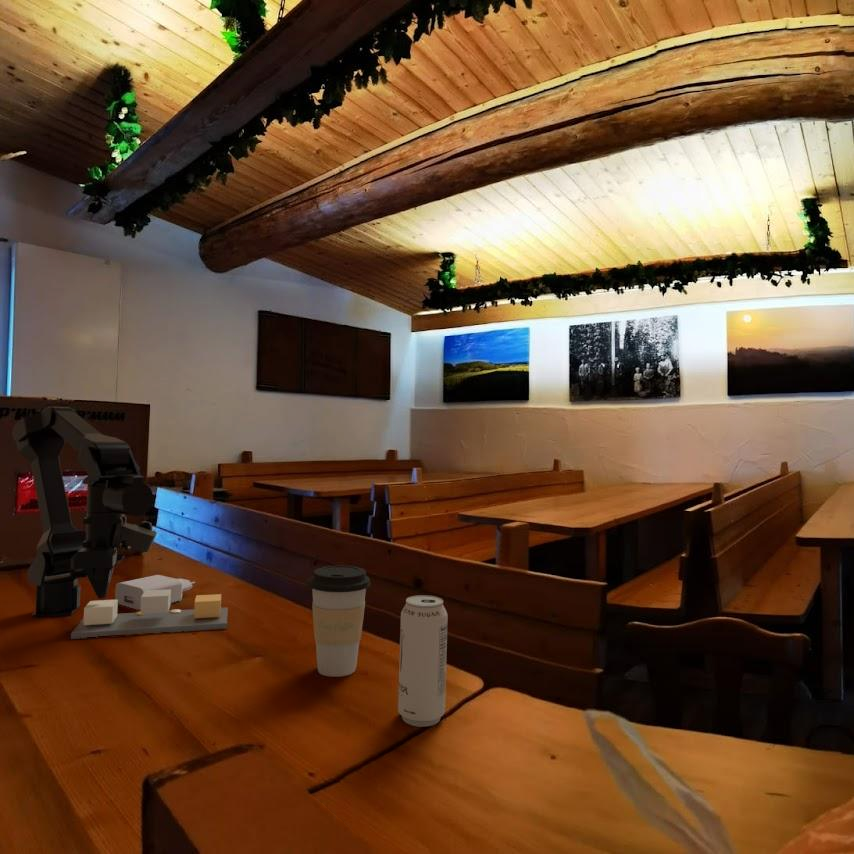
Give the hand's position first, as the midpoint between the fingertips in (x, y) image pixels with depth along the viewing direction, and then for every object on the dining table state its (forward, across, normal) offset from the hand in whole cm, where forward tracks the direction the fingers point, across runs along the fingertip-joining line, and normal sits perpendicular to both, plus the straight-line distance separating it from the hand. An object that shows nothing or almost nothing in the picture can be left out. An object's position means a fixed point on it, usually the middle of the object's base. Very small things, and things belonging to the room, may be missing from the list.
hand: (101, 598), depth 106 cm
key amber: (+4, 0, -18) cm, 18 cm away
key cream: (+4, 0, 0) cm, 4 cm away
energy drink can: (+6, -46, -46) cm, 65 cm away
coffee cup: (+6, -28, -38) cm, 47 cm away
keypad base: (+5, 0, -9) cm, 10 cm away
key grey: (+3, 0, -9) cm, 9 cm away
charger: (+6, +17, -8) cm, 20 cm away
